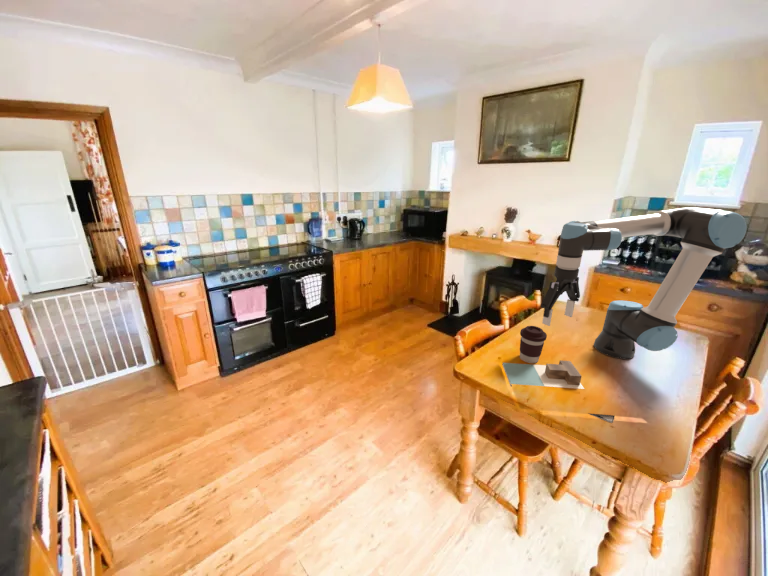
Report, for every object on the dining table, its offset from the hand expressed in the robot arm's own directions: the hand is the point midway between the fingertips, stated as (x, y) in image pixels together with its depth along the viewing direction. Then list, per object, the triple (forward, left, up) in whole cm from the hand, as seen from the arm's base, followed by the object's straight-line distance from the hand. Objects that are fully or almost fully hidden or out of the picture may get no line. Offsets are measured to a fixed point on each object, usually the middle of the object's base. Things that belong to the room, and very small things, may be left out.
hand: (557, 320), depth 123 cm
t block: (-3, +6, -21) cm, 22 cm away
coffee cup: (+6, -6, -23) cm, 24 cm away
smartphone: (-12, +20, -23) cm, 33 cm away
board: (+4, +6, -22) cm, 24 cm away
